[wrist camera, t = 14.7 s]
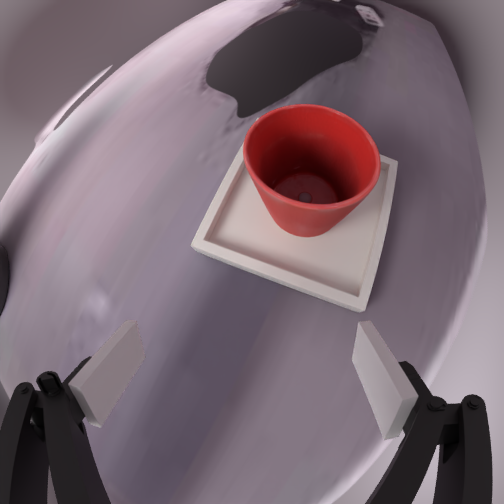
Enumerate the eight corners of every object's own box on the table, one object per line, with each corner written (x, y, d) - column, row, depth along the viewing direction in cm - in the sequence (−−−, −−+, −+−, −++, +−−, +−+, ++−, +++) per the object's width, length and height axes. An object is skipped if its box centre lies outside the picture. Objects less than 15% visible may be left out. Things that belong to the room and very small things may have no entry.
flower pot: (297, 148, 31) (299, 86, 21) (371, 203, 28) (402, 151, 18) (234, 205, 29) (213, 151, 20) (312, 273, 26) (328, 241, 17)
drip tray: (196, 251, 29) (190, 245, 27) (259, 128, 33) (257, 117, 31) (358, 312, 25) (364, 310, 23) (392, 171, 29) (398, 161, 27)
